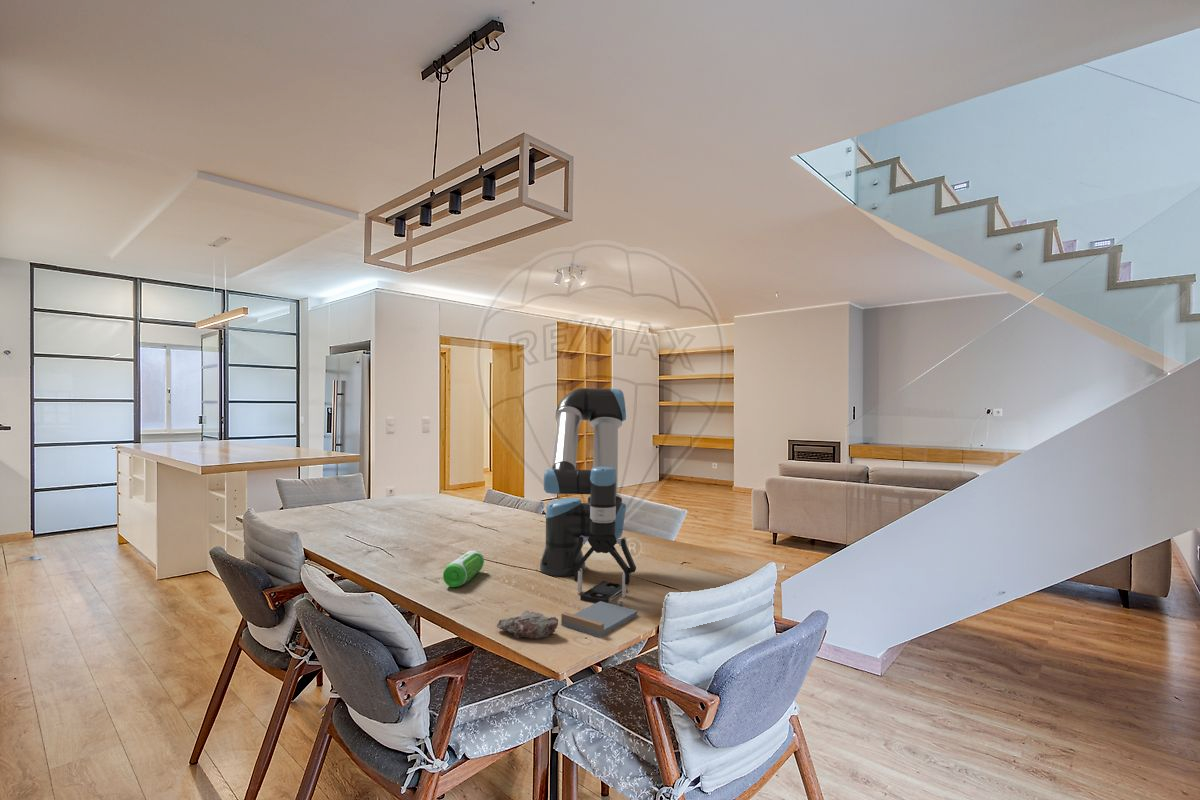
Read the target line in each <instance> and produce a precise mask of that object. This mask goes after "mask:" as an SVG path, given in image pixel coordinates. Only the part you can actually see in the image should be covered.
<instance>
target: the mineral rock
mask: <svg viewBox="0 0 1200 800" xmlns="http://www.w3.org/2000/svg"><path fill="white" fill-rule="evenodd" d="M558 625H559V619H558V618H556V616H553V617H548V616H546V615H544V614H542V613H540V612H537V611H536V612H534V611H532V612H530V611H529V610H527V609H526V610H525V611H524V612H523V613H521V614H520V615H518V616H515V617H510V618H505V619H500V620H499V621H498V623H497V624H496V628H497V629H500V630H502V631H503V632H508V633H511V634H513V636H514V638H519V639H521V638H530V639H534V640H535V639H536V640H537V639H540V638H546V637H548V636H549V635H554V634H555V632H556V629H557V628H558Z"/></svg>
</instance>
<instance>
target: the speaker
mask: <svg viewBox="0 0 1200 800" xmlns="http://www.w3.org/2000/svg"><path fill="white" fill-rule="evenodd" d="M484 564H485V558H484V555H483V554H482V552H480V551H477V550H469V551H466V552H465V553H464V554H463V555H461V556H459V557H458V558H456V559H455V560H453V561H452V562H450V563H449V564H448V565H447V566H446V567H445V569H444V571H443V574H442V577H443V581H444V583H445V584H446V585H447V586H449V587H451V588H458V587H460V586H462V585H465V584H467V583H468V582H470V581H471V580H472V579H473V578H474V577H475V576H476V575H477V574H478V573H479V572H481V570H482V569H483V566H484Z"/></svg>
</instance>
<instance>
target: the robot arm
mask: <svg viewBox="0 0 1200 800" xmlns="http://www.w3.org/2000/svg"><path fill="white" fill-rule="evenodd" d="M624 395H625V394H624V393H623V391H622V390H621V389H619V388H611V387H610V388H587V387H586V388H585V387H584V388H582V387H579V388H577V389H574V390H572V391H570V392H568V393H567V394H566V395H565V396H564V397H563V398H562V399H561V400H560V402H559V404H558V405H557V407H556V410H555V421H556V424H557V426H556V430H555V431H556V433H555V440H554V450H553V458H552V467H551V468H547V469H545V470H544V473H543V490H544V492H545V493H546V494H551V495H552V494H553V495H554V494H555V495H588V497H587V502H582V499H581V498H579V497H566V498H565V497H564V498H560V499H559V498H558V499H555V500H552V501H550V502H549V503H548V504H547V505H546V507H545V508H546V509H545V510H546V511H545V517H544V518H545V546H544V550H543V553H542V556H541V560H540V562H539V571H540V572H541V573H542V574H543V573H544V574H546V575H549V576H557V577H558V576H559V577H569V576H573V577H574V582H577V594H578V595H581V594H582V593H583V592H582V591H583V573H584V572H585V571H586V561H587V560H588V558H589V557H590V556H591V555H592V554H593V552H596V553H597V554H600V553H602V554H608V553H609V554H610V555H611V556H612V557H613V559H614V560H615V561H616V563H617V564H618V566H619V567H620V569H621V570H622V571H623V573H622V575H621V578H622V579H621V581H622V582H621V583H622V594H621V597H622V598H625V597H626V595H627V586H630V582H631V574H632V573H635V572H636V570H637V566H636V564H635V562H634V559H633V557H632V555H631V552H630V550H629V548H628V545H627V538H626V537H622V536H623V532H624V527H625V526H624V525H625V519H626V517H625V516H626V512H627V510H626V509H627V504H626V503H624V502H623V497H621V495H620V494H618V491H619V490H618V481H619V479H618V474H619V473H618V469H619V468H618V463H619V461H618V458H619V457H618V451H619V450H618V448H619V446H618V445H619V441H618V440H619V434H618V433H619V429H620V428H621V427H622V425H623V422H624V421H626V419H627V411H626V401H625V400H626V399H625V396H624ZM582 421H589V426H590V427H591V428H593V450H592V451H593V453H592V457H593V458H592V468H591V469H577V468H576V467H577V460H578V459H577V457H578V456H577V455H578V442H579V432H580V431H579V430H580V429H579V428H580V424H581V423H582ZM621 537H622V538H621ZM587 542H588V544H589V545H590V548H588V550H587V552H585V554H583V551H582V549H583V546H584V545H586V544H587ZM616 544H618V546H619V547H621V549H622V552H623V555H624V557H625V560H626V562H627V563H626V562H625V560H624V559H623V557H622V556H621V555H620V553H619V552H618V550H617V549H616V546H615V545H616ZM627 564H628V565H627Z"/></svg>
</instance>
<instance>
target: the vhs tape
mask: <svg viewBox="0 0 1200 800" xmlns="http://www.w3.org/2000/svg"><path fill="white" fill-rule="evenodd" d="M579 595H580V596H579V597H580V601H583V602H588V603H593V604H595V603H597V602H599V601H602V602H606V603H611V601H613V600H615V598H618V597H619V596H620V595H622V584H621V583H617V582H611V581H606V580H602V581H601V582H599V583H598V584H596V585H595V586H593V587H591V588H589V589H588V590H586V591H584V592H582V593H580V594H579Z"/></svg>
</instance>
